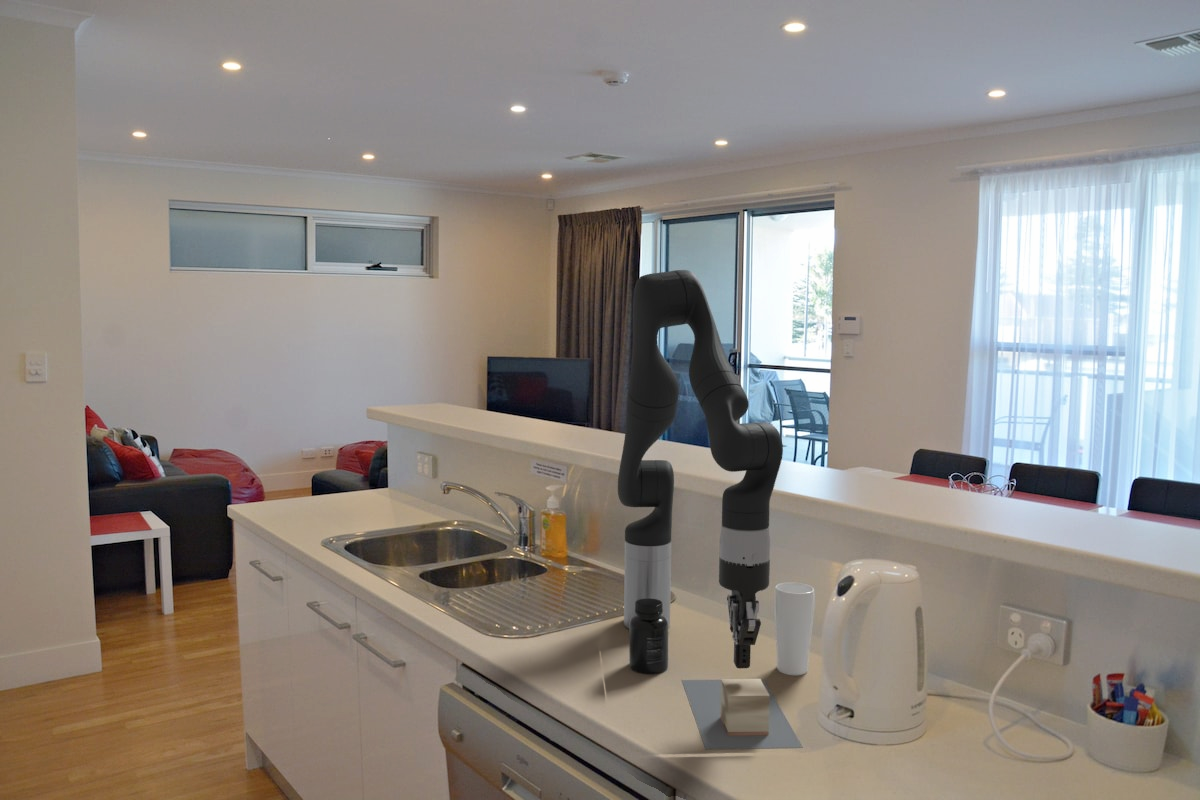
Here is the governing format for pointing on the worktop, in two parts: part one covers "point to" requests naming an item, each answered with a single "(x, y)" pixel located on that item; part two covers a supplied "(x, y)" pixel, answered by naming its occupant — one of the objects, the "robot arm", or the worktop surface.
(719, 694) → the slate mat
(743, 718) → the birch cube
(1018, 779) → the worktop surface
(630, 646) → the supplement bottle
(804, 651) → the drinking glass
